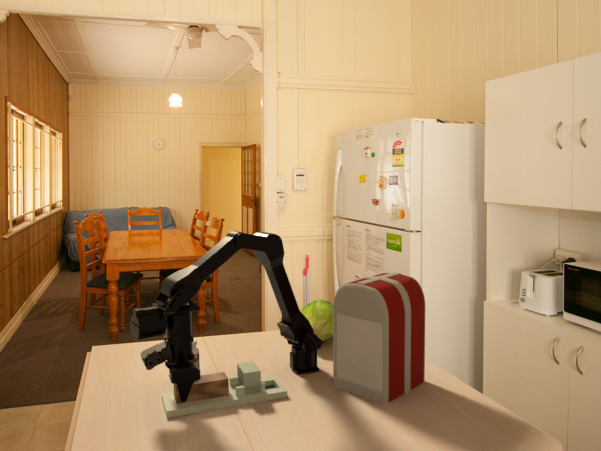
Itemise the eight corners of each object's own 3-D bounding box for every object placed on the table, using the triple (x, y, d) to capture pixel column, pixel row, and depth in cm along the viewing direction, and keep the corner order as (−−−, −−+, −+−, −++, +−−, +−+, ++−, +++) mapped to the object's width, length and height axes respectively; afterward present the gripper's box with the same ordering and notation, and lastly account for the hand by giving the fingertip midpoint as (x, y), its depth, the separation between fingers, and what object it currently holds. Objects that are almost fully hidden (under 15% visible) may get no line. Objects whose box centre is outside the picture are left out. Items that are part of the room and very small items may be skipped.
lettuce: (291, 352, 157) (290, 313, 156) (304, 328, 179) (303, 294, 178) (335, 354, 155) (334, 315, 153) (342, 330, 177) (342, 295, 176)
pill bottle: (194, 382, 136) (193, 344, 135) (174, 381, 137) (172, 343, 136) (203, 373, 141) (202, 337, 140) (183, 372, 143) (181, 336, 141)
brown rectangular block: (224, 387, 128) (224, 371, 128) (228, 395, 124) (228, 378, 124) (174, 396, 124) (173, 378, 124) (176, 404, 120) (175, 386, 120)
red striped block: (426, 381, 135) (427, 276, 132) (387, 404, 122) (387, 288, 119) (372, 365, 146) (372, 268, 143) (331, 385, 133) (330, 278, 130)
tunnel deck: (274, 381, 136) (274, 355, 135) (287, 397, 126) (287, 369, 126) (161, 399, 126) (160, 371, 125) (166, 417, 117) (165, 388, 116)
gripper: (139, 324, 127) (142, 387, 129) (145, 349, 109) (148, 421, 111) (186, 319, 131) (189, 380, 132) (199, 342, 113) (202, 412, 115)
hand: (181, 397), depth 123 cm, fingers closed on brown rectangular block, 4 cm apart
